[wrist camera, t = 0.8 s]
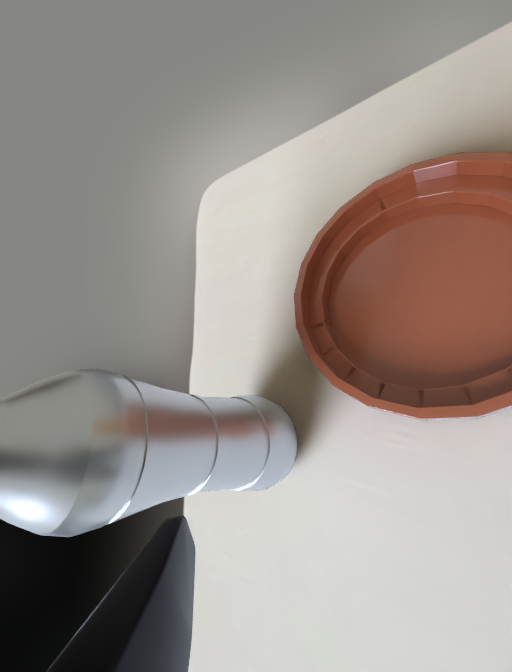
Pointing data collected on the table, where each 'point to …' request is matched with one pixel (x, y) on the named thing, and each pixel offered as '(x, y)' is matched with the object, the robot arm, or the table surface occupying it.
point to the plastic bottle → (128, 449)
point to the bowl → (417, 290)
